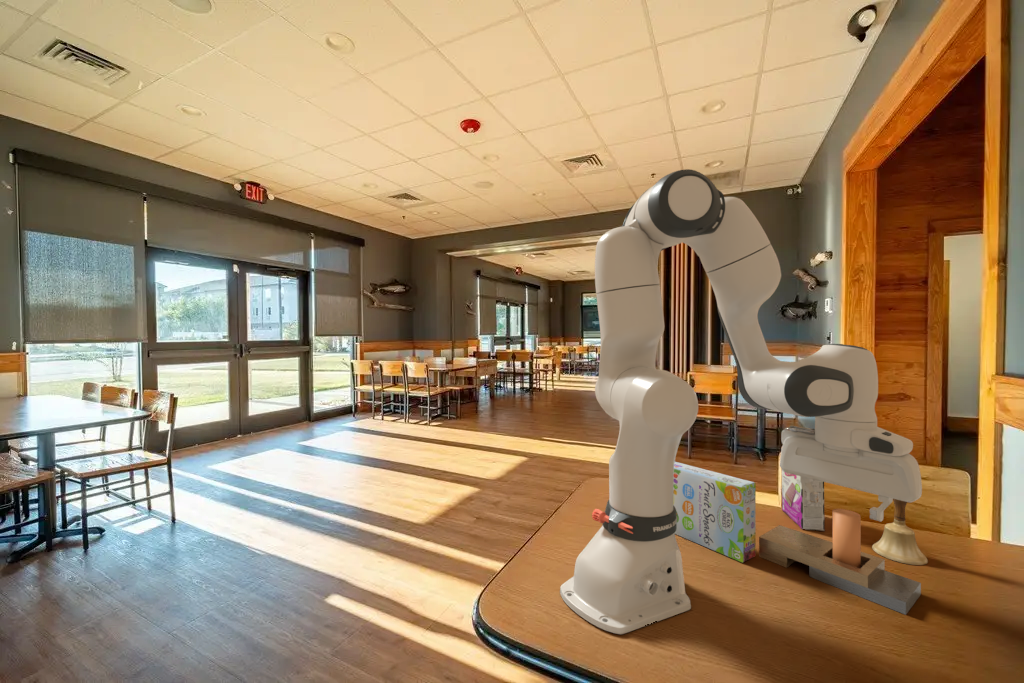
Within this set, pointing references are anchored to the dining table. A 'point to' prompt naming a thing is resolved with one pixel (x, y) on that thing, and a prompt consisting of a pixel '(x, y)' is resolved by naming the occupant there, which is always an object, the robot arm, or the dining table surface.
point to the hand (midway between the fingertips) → (843, 510)
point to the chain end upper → (816, 555)
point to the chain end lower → (877, 589)
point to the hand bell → (899, 540)
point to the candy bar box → (802, 502)
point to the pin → (847, 537)
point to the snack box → (715, 511)
